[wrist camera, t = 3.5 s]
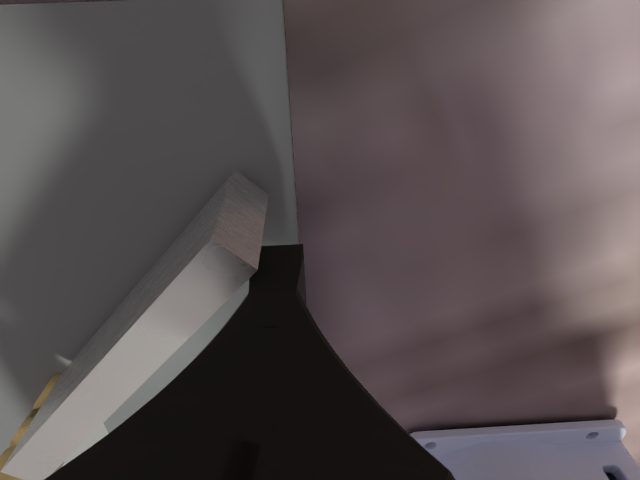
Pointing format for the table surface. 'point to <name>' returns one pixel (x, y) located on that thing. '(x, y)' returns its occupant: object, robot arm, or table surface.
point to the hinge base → (124, 168)
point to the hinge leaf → (146, 327)
